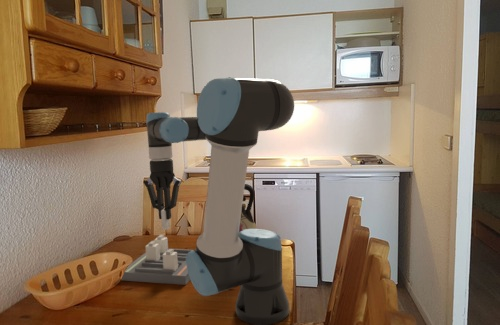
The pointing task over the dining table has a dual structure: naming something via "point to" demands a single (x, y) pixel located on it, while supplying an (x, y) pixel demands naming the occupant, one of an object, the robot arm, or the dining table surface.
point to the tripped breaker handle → (170, 260)
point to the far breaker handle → (162, 243)
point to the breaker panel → (158, 270)
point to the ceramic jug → (247, 212)
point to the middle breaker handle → (152, 251)
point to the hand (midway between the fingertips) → (165, 228)
